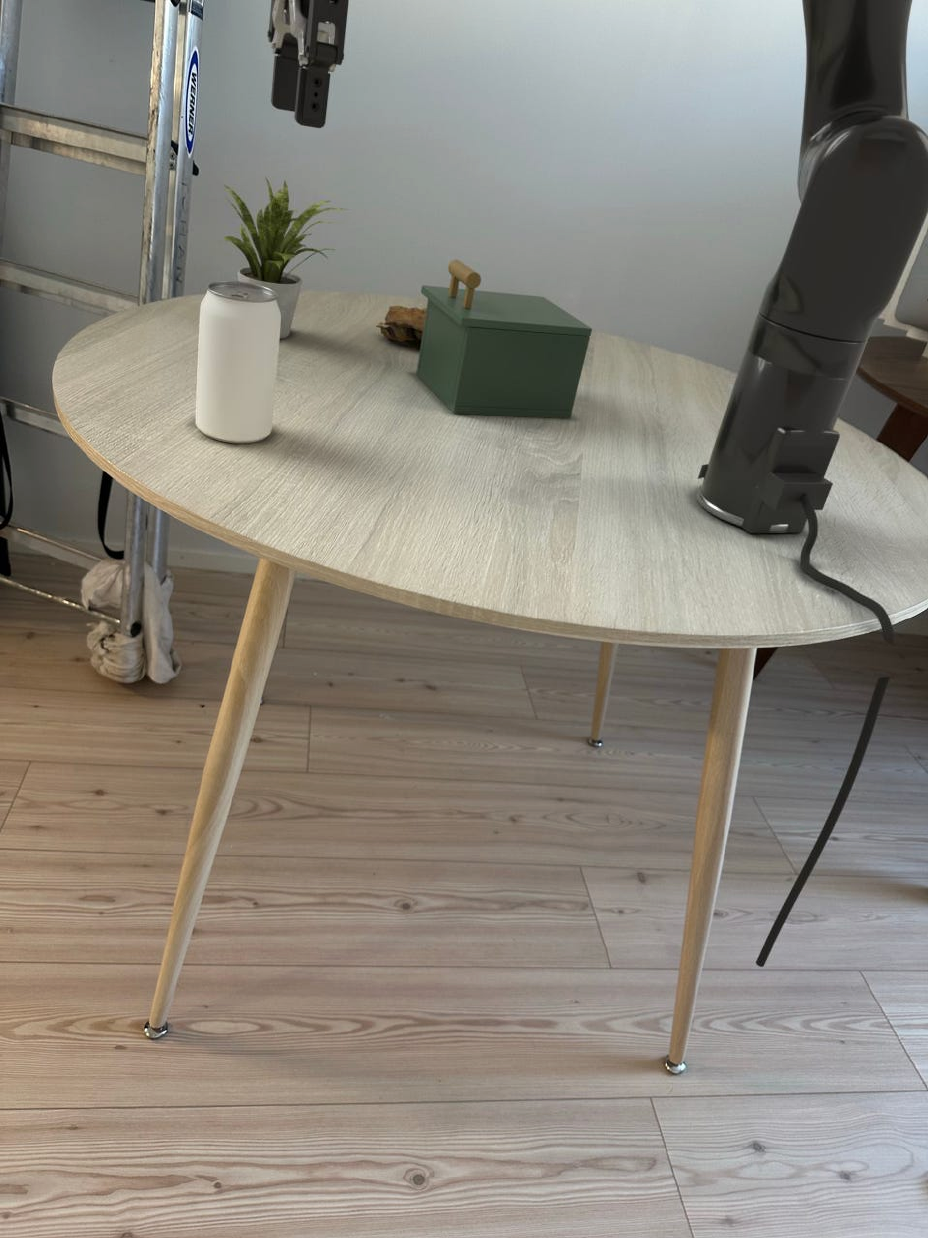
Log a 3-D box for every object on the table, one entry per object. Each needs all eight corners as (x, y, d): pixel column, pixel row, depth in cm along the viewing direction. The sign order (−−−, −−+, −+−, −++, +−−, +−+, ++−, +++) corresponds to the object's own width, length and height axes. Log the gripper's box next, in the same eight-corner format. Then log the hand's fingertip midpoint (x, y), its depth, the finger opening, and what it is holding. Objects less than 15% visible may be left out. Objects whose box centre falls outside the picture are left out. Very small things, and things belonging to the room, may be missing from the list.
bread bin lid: (460, 326, 95) (469, 279, 93) (420, 292, 104) (427, 249, 102) (590, 336, 101) (601, 292, 99) (542, 303, 110) (550, 263, 107)
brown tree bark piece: (407, 363, 113) (507, 364, 122) (414, 328, 111) (516, 332, 120) (357, 326, 120) (456, 330, 129) (364, 292, 118) (463, 299, 127)
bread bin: (453, 413, 100) (469, 327, 95) (415, 374, 109) (428, 293, 104) (570, 418, 105) (590, 336, 101) (525, 380, 114) (542, 304, 110)
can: (279, 425, 88) (291, 290, 82) (259, 450, 83) (271, 307, 77) (208, 411, 88) (215, 274, 82) (184, 435, 83) (189, 290, 77)
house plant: (355, 356, 110) (375, 201, 102) (235, 354, 103) (246, 188, 95) (307, 317, 120) (322, 174, 112) (195, 313, 113) (202, 159, 105)
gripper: (247, -147, 73) (232, 97, 81) (289, -161, 62) (267, 123, 70) (345, -120, 76) (321, 113, 84) (402, -129, 65) (367, 140, 73)
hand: (296, 117), depth 77 cm, fingers open, 8 cm apart
